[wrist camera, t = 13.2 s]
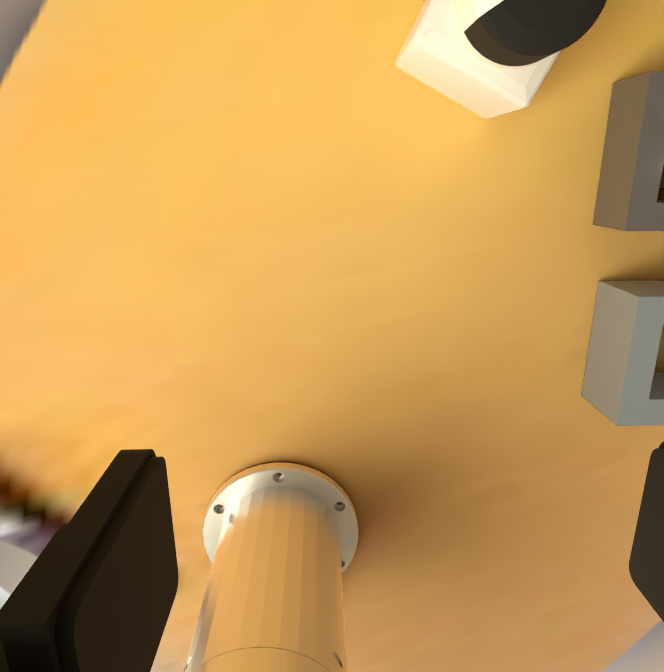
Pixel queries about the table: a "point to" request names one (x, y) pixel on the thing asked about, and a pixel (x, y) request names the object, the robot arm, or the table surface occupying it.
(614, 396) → the socket block
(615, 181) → the grey square ring
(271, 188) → the table surface
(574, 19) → the medicine bottle
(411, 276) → the table surface
